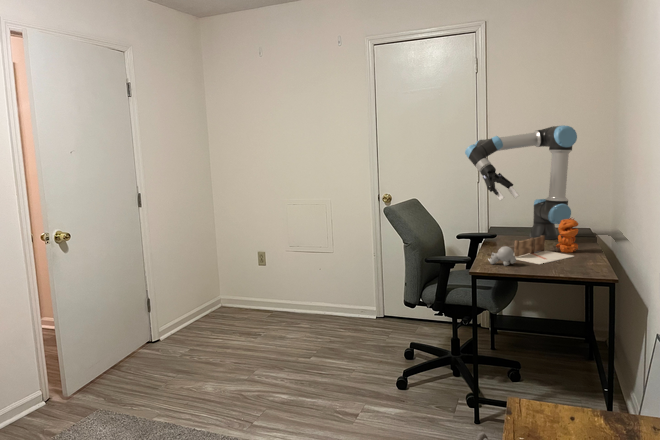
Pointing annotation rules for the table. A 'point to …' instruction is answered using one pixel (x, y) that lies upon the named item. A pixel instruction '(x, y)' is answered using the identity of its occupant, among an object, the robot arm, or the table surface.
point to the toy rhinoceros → (503, 256)
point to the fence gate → (522, 247)
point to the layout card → (543, 257)
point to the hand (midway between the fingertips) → (509, 198)
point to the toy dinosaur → (567, 235)
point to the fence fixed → (538, 244)
